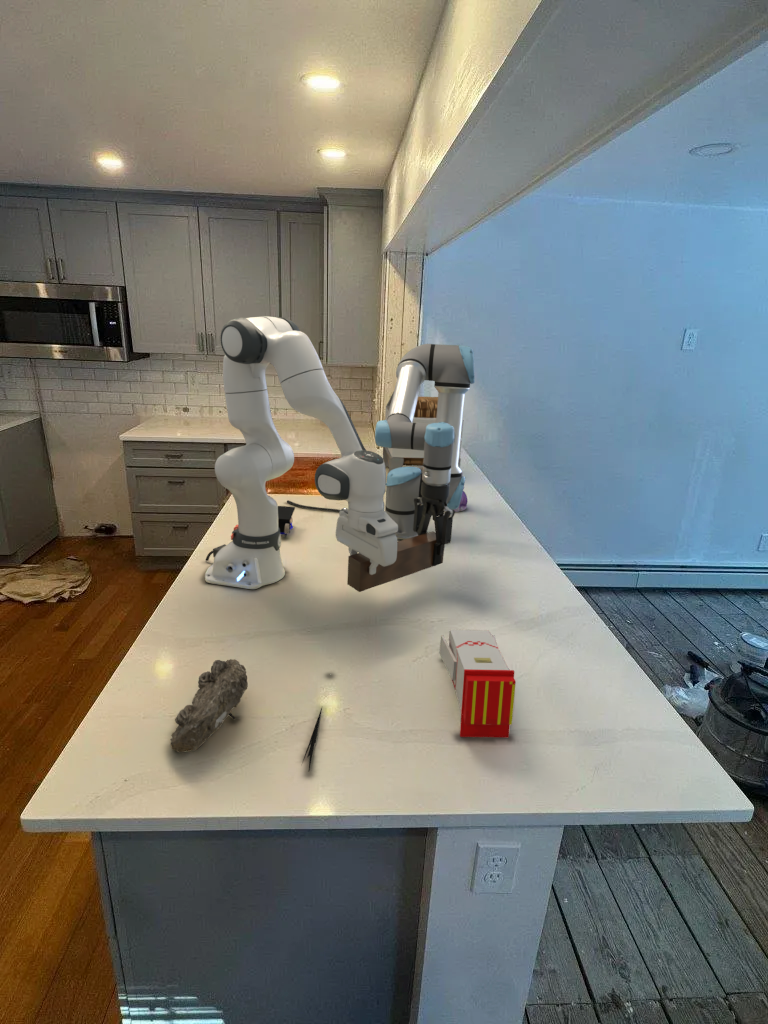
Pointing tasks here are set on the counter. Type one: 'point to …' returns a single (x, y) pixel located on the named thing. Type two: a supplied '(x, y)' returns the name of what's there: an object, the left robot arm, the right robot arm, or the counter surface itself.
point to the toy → (479, 682)
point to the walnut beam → (409, 560)
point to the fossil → (210, 704)
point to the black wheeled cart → (285, 519)
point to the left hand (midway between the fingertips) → (363, 568)
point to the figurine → (462, 502)
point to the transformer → (423, 414)
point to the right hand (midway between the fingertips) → (429, 560)
